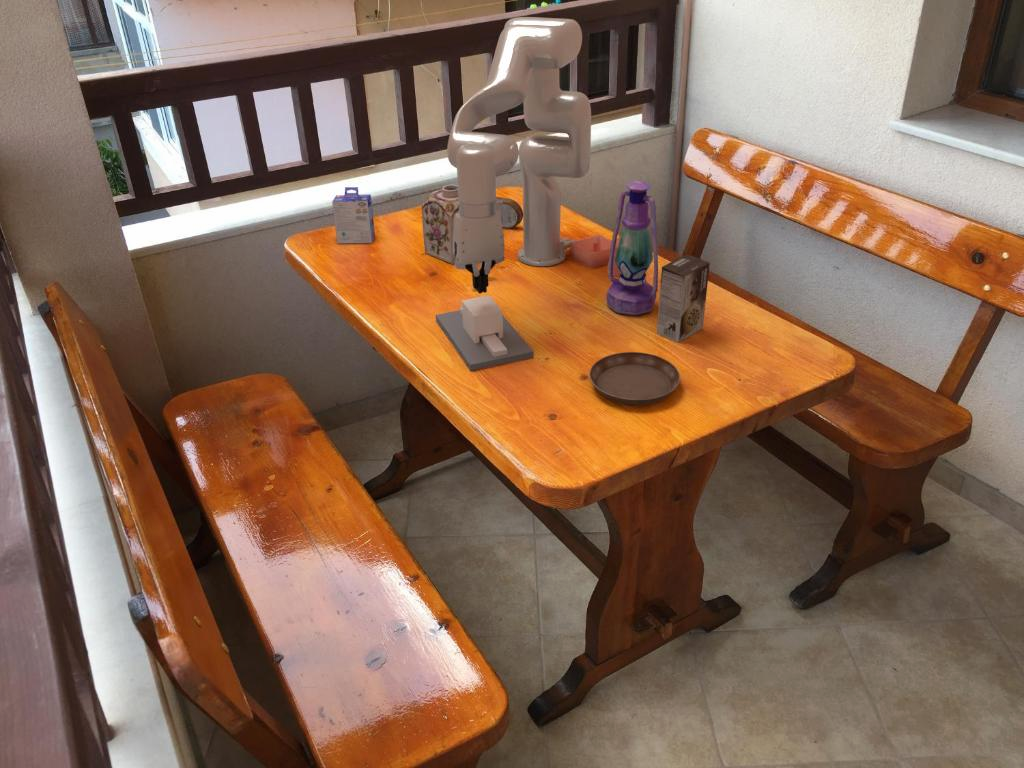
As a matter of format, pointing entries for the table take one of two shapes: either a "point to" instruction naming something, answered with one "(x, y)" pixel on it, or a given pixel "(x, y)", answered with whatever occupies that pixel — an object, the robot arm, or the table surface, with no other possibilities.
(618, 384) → the plant saucer
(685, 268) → the coffee box
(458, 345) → the rail board
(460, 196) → the robot arm
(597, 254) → the pottery
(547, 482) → the table surface
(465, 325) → the block
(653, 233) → the lantern
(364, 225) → the ink cartridge box
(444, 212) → the decorative jar
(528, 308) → the table surface
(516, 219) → the tin
